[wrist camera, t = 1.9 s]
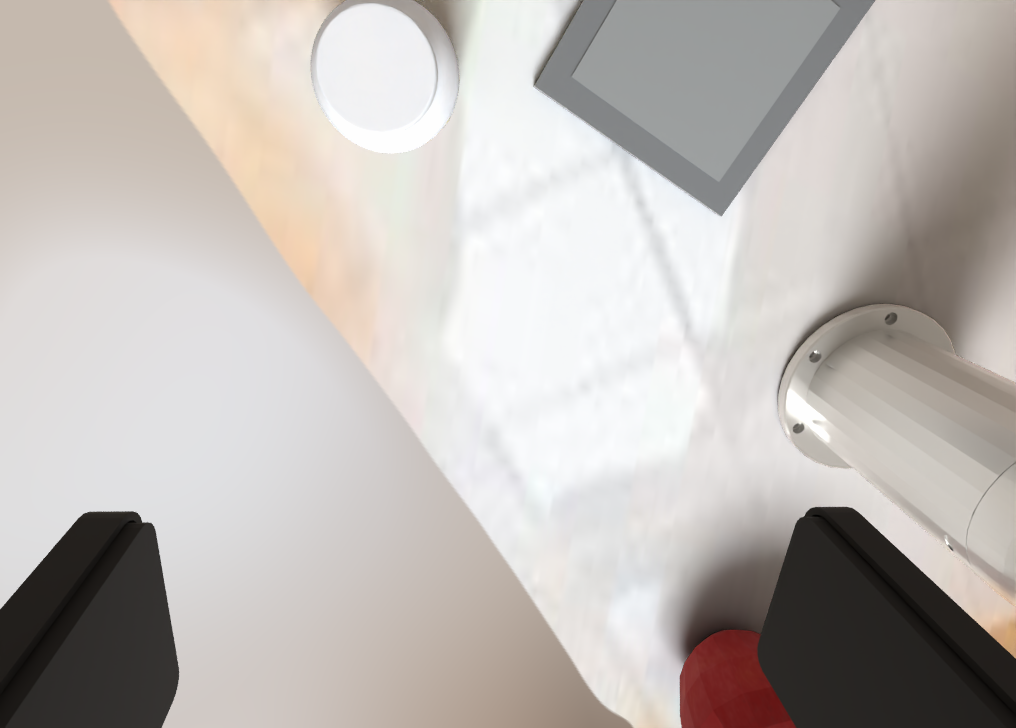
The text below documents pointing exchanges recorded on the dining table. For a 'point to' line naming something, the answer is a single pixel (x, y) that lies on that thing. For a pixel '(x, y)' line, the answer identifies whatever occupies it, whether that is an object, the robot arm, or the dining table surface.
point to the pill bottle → (385, 73)
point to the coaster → (696, 80)
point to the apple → (729, 685)
